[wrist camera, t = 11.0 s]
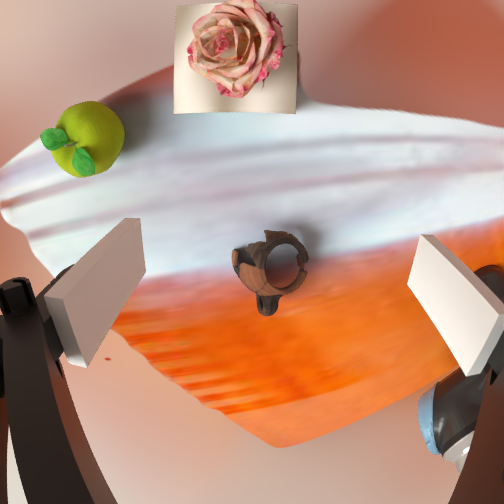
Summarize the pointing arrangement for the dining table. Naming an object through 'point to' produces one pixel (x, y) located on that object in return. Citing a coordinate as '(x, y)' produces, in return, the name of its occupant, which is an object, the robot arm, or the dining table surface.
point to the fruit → (85, 139)
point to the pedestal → (257, 99)
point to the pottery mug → (256, 273)
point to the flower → (236, 46)
